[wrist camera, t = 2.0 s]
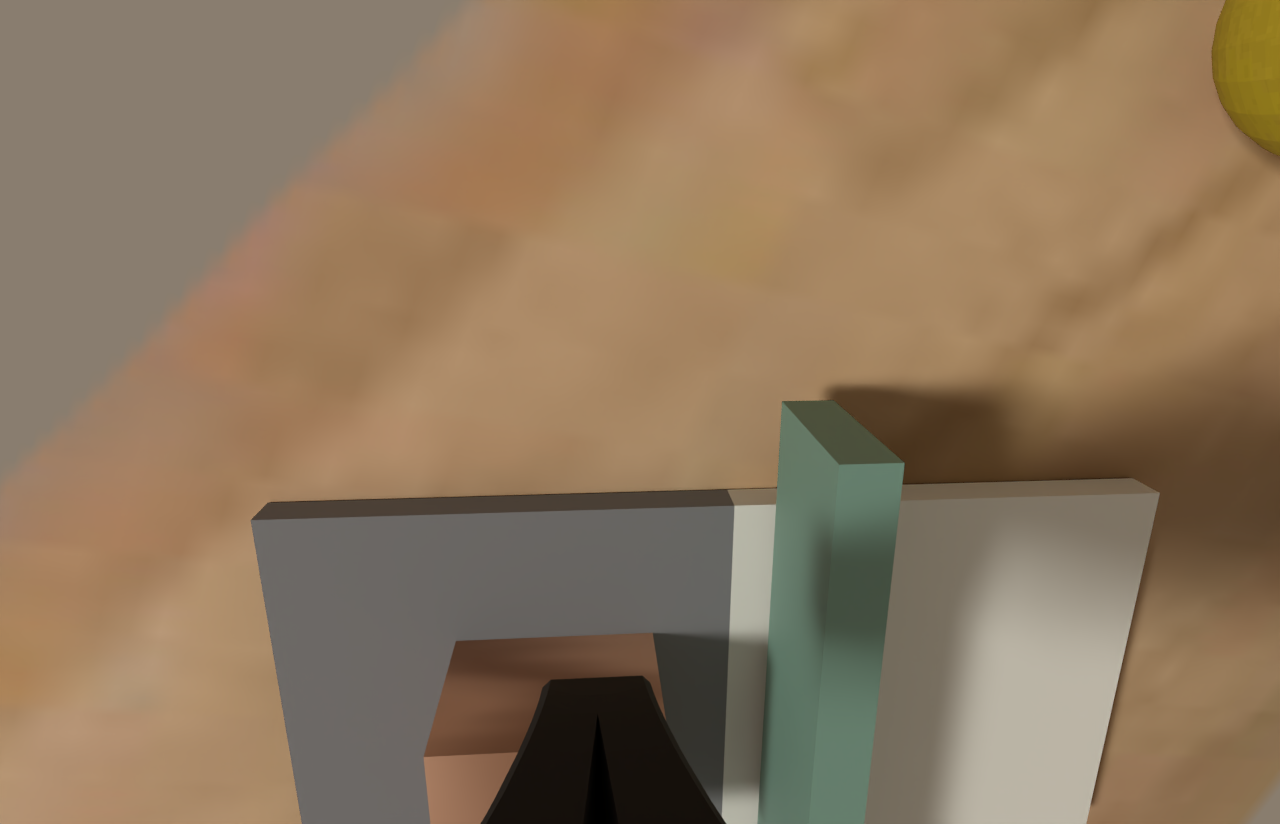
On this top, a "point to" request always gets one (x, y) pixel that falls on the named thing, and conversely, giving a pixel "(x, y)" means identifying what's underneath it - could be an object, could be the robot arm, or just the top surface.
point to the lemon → (1250, 68)
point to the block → (510, 708)
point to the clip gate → (826, 614)
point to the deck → (714, 634)
